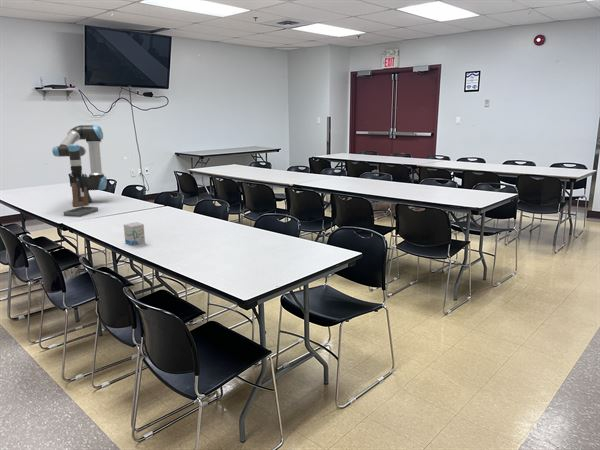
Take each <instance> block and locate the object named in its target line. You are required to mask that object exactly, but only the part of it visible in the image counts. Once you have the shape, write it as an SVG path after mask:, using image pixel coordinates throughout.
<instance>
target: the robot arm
mask: <svg viewBox="0 0 600 450" xmlns="http://www.w3.org/2000/svg"><path fill="white" fill-rule="evenodd" d="M103 139H104V133H103V128H102V127H101V126H100V125H98V124H97V125H96V124H90V125H85V124H83V125H77V126H74V127H72V128H70V129H69V130H68V132H67V135H66V137H65V138H64V139H63V140H62V141H61V143H60V144H59V145H58V146H53V147H52V155H53V156H54V157H59V158H60V157H69V163H70V171H71V172H70V173H68V178H69V185H70V188H72V185H71V183H77V192H78V194H79V193H81V197H82V196H84V187H87V194H88V204H90V203H91V204H92V202H93V199H92V196H91V195H90V191H104V190H105V189H106V188H107V183H108V180H107V178H108V177H107V176H105V173H103V170H102V160H101V159H102V158H101V148H100V147H101V146H100V144H101V142H102V140H103ZM81 140H82V141H83V140H84V141H85V142H86V143H87V145H88V154H89V155H88V157H89V168H90V173H89V174H88V175H87V174H86V173H83V171H82V170H83V166H82V157H83V156H84V155H85V154H86V153H87V151H86V148H85V147H84V146H82V145H80V144H77V143H76V142H78V141H81ZM75 143H76V144H75ZM81 197H78V201H81Z"/></svg>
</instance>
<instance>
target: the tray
mask: <svg viewBox="0 0 600 450" xmlns="http://www.w3.org/2000/svg"><path fill="white" fill-rule="evenodd" d="M96 212H99V207H98V206H81V207H74V208H72V209H69V210H66V211H63V216H64V217H65V216H66V217H74V218H75V217H77V218H78V217H79V218H81V217H84V216H88V215H91V214H93V213H94V214H95V213H96Z"/></svg>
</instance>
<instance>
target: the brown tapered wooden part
mask: <svg viewBox="0 0 600 450" xmlns="http://www.w3.org/2000/svg"><path fill="white" fill-rule="evenodd" d="M71 185H72V187H71V193H72V203H71V204H72V208H79V207H82V206H84V207H89V203H88V194H87V187H84V196H82V197H81V193H79V194H78V192H77V183H71ZM78 197H81V201H78Z"/></svg>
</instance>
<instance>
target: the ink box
mask: <svg viewBox="0 0 600 450" xmlns="http://www.w3.org/2000/svg"><path fill="white" fill-rule="evenodd" d="M144 226H145V224H144V223H141V222H138V221H134V222H129V223H125V224H123V232H124V242H125V244H126V245H130V246H137V245H142V244H145V243H146V237H145V236H146V235H145V227H144Z"/></svg>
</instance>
